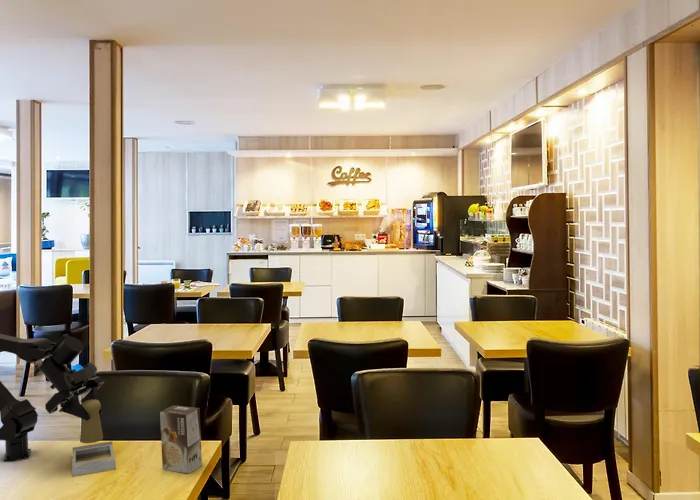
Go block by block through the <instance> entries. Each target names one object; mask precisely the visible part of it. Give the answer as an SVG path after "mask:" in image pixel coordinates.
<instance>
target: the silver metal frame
mask: <svg viewBox="0 0 700 500" xmlns="http://www.w3.org/2000/svg"><path fill="white" fill-rule="evenodd" d="M103 455H110V456H107V457H106V456H105V457H101V458H96V459H89V460H83V461H77V460H79V459H80V460H81V459H87V458H92V457H99V456H103ZM71 456H72V459H71V460H72V463H71V466H72V468H71V470H72V477H77V476H83V475H88V474H89V475H90V474H93V473H100V472H107V471H110V470H111V471H112V470H116V458H115V452H114V444H113V441H106V442H100V443H94V444H93V443H91V444H87V445H82V446H76V447H75V446H74V447H72V455H71Z"/></svg>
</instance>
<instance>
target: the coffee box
mask: <svg viewBox="0 0 700 500" xmlns="http://www.w3.org/2000/svg"><path fill="white" fill-rule="evenodd" d="M159 417H160V418H159V419H160V421H159V422H160V439H161V440H160V441H161V445H160V446H161V461H162V462H161V463H162V465H161V466H162V470H164V471H165V470H166V471H171V472H178V473H184V474H190V473H192V472H195V470H197V469H198V468H200V467H202V466H203V459H202V458H203V456H202V455H203V454H202V435H201V433H202V432H201V411H200V407H192V406H183V405H176V404H175V405H171V406H168V407H167V408H164V410H161V411H159Z"/></svg>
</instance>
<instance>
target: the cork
mask: <svg viewBox="0 0 700 500" xmlns="http://www.w3.org/2000/svg"><path fill="white" fill-rule="evenodd" d="M80 404H81V405H82V406H83V408H84V409H85V410H86V412H87V413H88V414H89V416H90V419H89V420H88V421H87V420H84V419H82V418H81V428H80V434H79V435H80V438H79V442H80V443H82V444H93V443H94V444H95V443H98V442H100V441H102V440H103V439H104V435H103V428H102V423H101V416H100V414H99V410H100V408H101V409H102V405H101V402H100V400H99V399H98V400H86V401H84V402H83V403H82V402H81V403H80Z"/></svg>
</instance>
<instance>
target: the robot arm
mask: <svg viewBox="0 0 700 500" xmlns="http://www.w3.org/2000/svg"><path fill="white" fill-rule="evenodd" d="M84 348H85V347H84V344H83V342H82V341H81V340H80V339H78V338H76V337H74V336H71V335H70V334H68V333H66V334H62V335H61V336H60V337H59V340H58V341H57V342H51V340H50V339H48V338H46V337H45V338H42V337H41V338H39V337H35V338H34V337H33V338H21V337H17V336H11V335H8V334H2V333H0V351H1V352H6V353H10V354H14V355H15V356H17V357H18V358H19V359H20V360H22V361H24V362H27V363H31V364H32V363H35V362H38V361H41V362H40V363H39V364H36V365H34V372H33V373H34V376H36V375H41V374H43V375H44V376H45V377H46V379H47V380H48V381H49V382H50V383H51V385H50V386H49V388H50V389H51V390H55V389H56V390H57V392H55V393H54V394H53V395H52V397H50V399H49V400H47V402H45V405H44V407H45V410H46V412H47V413H48V414H49V415H51V414H53V413H55V412H57V411H58V412H59V413H66V414H68V415H71V416H73V417H76V418H79V419H81V420H82V419H84V420H87V421H88V420H89V419H90V416H89V414H88V413H87V412H86V410H85V409H84V408H83V406H82V405H81V404H82V403H83V402H84V401H86V400H98V401H99V397H98V390H99V389H100V388H101V386H102V385H103V384H104V383H105V380H104V379H103V378H102V377H101V376H97V374H96V373H97V371H98V368H97V366H96V365H95V364H93V362H88V363H87V364H84V365H83V368H81V369H79V370H76V369H74V368H73V369H70V368H69V367H68V365H71V364H72V363H73V362H74V361H75V360H76V358H77V357H78V356H79V355H80V354H81V353H82V352H83V351H84ZM79 396H80V397H81V398H82V399H80V397H79ZM80 402H81V403H80ZM58 406H60V409H59V408H58ZM102 413H103V409H102V407H101V408H100V410H99V415H101V414H102ZM38 416H39V414H38V412H37V407H35V406H33V404H32V403H31V402H30V400H28V399H27V398H26V399H25V398H24V399H23V400H19V399H17V398H16V397H15V396H14V395H13V394H12V393H11V392H10V390H9V389H8V388H7V387H6V386H5V384H4V383H3V382H2V381H1V380H0V422H1V424H2V426H1V427H0V441H5V453H4V457H3V462H10V461H15V460H21V459H27V458H30V455H31V451H32V448H29V436H28V435H29V433H30V432H33V431H34V430H35V427H36V424H37V423H38Z"/></svg>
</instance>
